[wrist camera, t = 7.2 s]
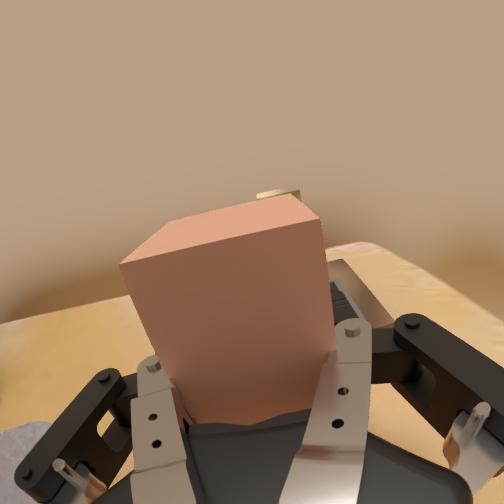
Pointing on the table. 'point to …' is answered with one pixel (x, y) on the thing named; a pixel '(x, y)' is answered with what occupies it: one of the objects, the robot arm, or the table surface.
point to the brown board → (360, 295)
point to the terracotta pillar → (238, 308)
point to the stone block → (17, 459)
